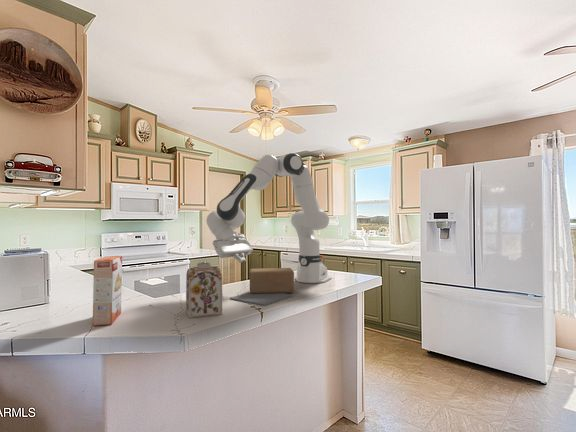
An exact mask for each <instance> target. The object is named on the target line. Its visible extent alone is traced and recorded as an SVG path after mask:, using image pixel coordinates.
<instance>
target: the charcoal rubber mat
mask: <svg viewBox="0 0 576 432" xmlns="http://www.w3.org/2000/svg"><path fill="white" fill-rule="evenodd" d="M293 296H294V294H292V293H261V294H251V293H250V291H249V292H246V293H242V294H238V295H235V296H231V297H229V300H232V301H238V302H243V303H248V304H251V305H252V304H253V305H258V306H263V307H266V306H268V305H272V304H273V303H277V302H280V301H283V300H286V299H288V298H292V297H293Z"/></svg>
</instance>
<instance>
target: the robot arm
mask: <svg viewBox="0 0 576 432" xmlns="http://www.w3.org/2000/svg"><path fill="white" fill-rule="evenodd" d="M274 177H280V178H281V177H290V179H291V182H292V187H293V193H294V194H293V195H294V198H295V202H296V203H297V204H298V205H299V206H300V207H301V209H302V210H299V211H295V212H293V214H292V215H291V218H290V222H291V225H292V227H294V230H295V231H296V234H297V237H298V238H297V239H298V242H299V243H298V246H299V254H298V264H297V265H296V276H294V280H296V281H297V282H299V283H305V284H306V283H307V284H316V283H323V284H324V283H326V282H327V281H330V280H331V279H333V278H332V276H330V275H328V267H327V266H326V265H324V263H323V262H322V260H323V259H324V255H322V254H320V240H319V239H318V237H316V234H315V231H320V230H324V229H326V228H327V227H328V226H329V224H330V218H329V217H330V216H329V214H328V213H327V212H326V211H324V210H323V208H322V207H321V205H320V203H319V202H318V199H317V196H316V193H315V188H314V187H315V186H314V181H313V178H312V174H311V171H310V168H309V167H308V166H307V165H305V163H304V161H303V159H302V157H301V156H300V155H299V154H298V153H294V152H290V153H285V154H282V155H280V156H279V157H275V156H273V155H272V154H265V155H263V156H262V157H261V158H260V159H259V160H258V161H257V162H256V164H255V165H254V166H253V168H252V169H251V171H249V173H248V174H247V173H246V174H245V175H244V176H243V177H242V179H240V181H239V182H238V183H237V184H236V185H235V186H234V188H233V189H232V190H231V191H230V192H229V193H228V195H226V196H225V197H224V198H222V199H221V200H220V201H219V202H218V203H217V206H216V210H213V211H211V212H210V213H209V214H208V215H207V216H206V219H205V220H206V221H205V222H206V225H207V227H208V229H209V230H210V232H211V234H212V235H213V236H214V237H215V239H214V240H213V241H212V246H213V247H214V250H215V253H216V255H217V256H218V257H219V258H220V259H225V258H234V259H235V260H236V261H237V262H238V263H240V264H243V263H245V262H246V261H247V259H246V257H245V256H249V255H251V254H252V253H253V251H254V248H253V246H252V245H251V243H250V241H249V240H248V239H247V238H246V236H245V235H244V234H243V233H241V232H237V231H235V230H237V229H238V228H240V227H241V226H243V225H244V224H245V221H246V219H247V217H246V214H245V212H244V211H243V209H242V208H241V207H240V204H241V201H242V200H243V199H244V198H245V197H246V195H247V194H248V193H249V192H250V191H251V190H255V191H263V190H265V189H266V188H268V186H269V185H270V183H271V182H272V180H273V178H274Z"/></svg>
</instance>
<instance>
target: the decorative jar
mask: <svg viewBox="0 0 576 432" xmlns="http://www.w3.org/2000/svg"><path fill="white" fill-rule="evenodd" d="M185 277H186V281H185V282H186V283H185V284H186V286H185V289H186V290H185V303H186V304H185V307H186V308H185V309H186V313H187V316H188V319H193V318H194V319H195V318H202V317H212V316H219V315H220V316H221V315H222V314H223V276H222V272H221V269H220V268H219V267H218V266H211V262H208V261H207V262H205V261H202V262H197V264H196V266H194V267H190V268H187V271H186V276H185Z"/></svg>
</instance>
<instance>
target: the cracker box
mask: <svg viewBox="0 0 576 432" xmlns="http://www.w3.org/2000/svg"><path fill="white" fill-rule="evenodd" d="M122 274H123V256H122V255H108V256H107V255H106V256H103V257H100V258H98V259H95V260H93V282H92V283H93V287H92V288H93V293H92V294H93V295H92V296H93V297H92V326H93V327H95V326H108V325H109V326H110V325H113V323H114V322H115V321H116V319H118V317H119V316H120V314H121V313H122V291H123V290H122V288H123V287H122V282H123V281H122V280H123V279H122V278H123V275H122Z"/></svg>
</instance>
